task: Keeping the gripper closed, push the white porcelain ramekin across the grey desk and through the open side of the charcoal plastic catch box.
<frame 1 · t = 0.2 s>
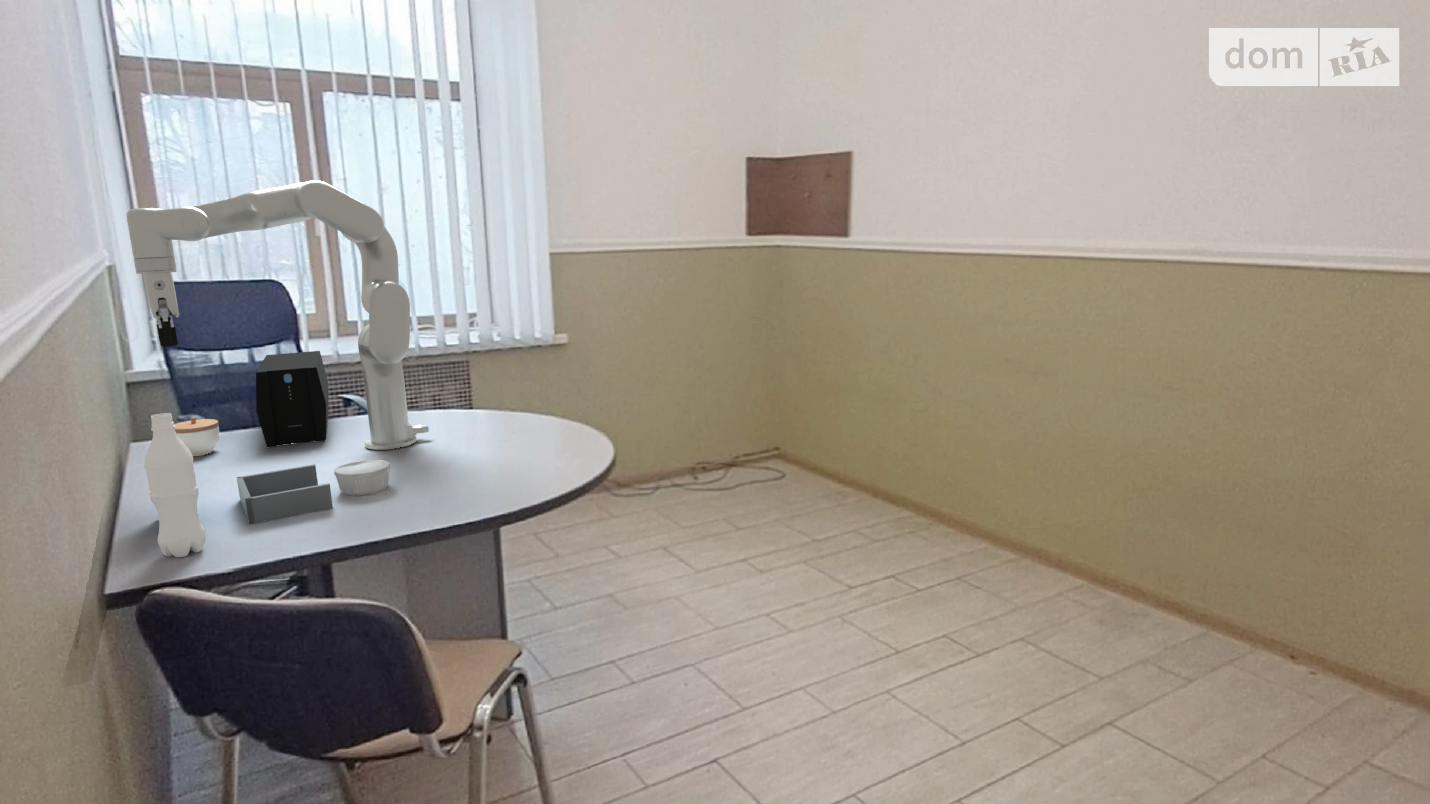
hand: (168, 343, 188), 31 cm above the table, tool pointing down, fingers open, 9 cm apart
lidded jar: (198, 454, 215), on the table
water bottle: (184, 553, 149), on the table
uninterruptible power supply: (300, 431, 237), on the table
catch box: (288, 503, 174), on the table
ramekin: (365, 490, 182), on the table
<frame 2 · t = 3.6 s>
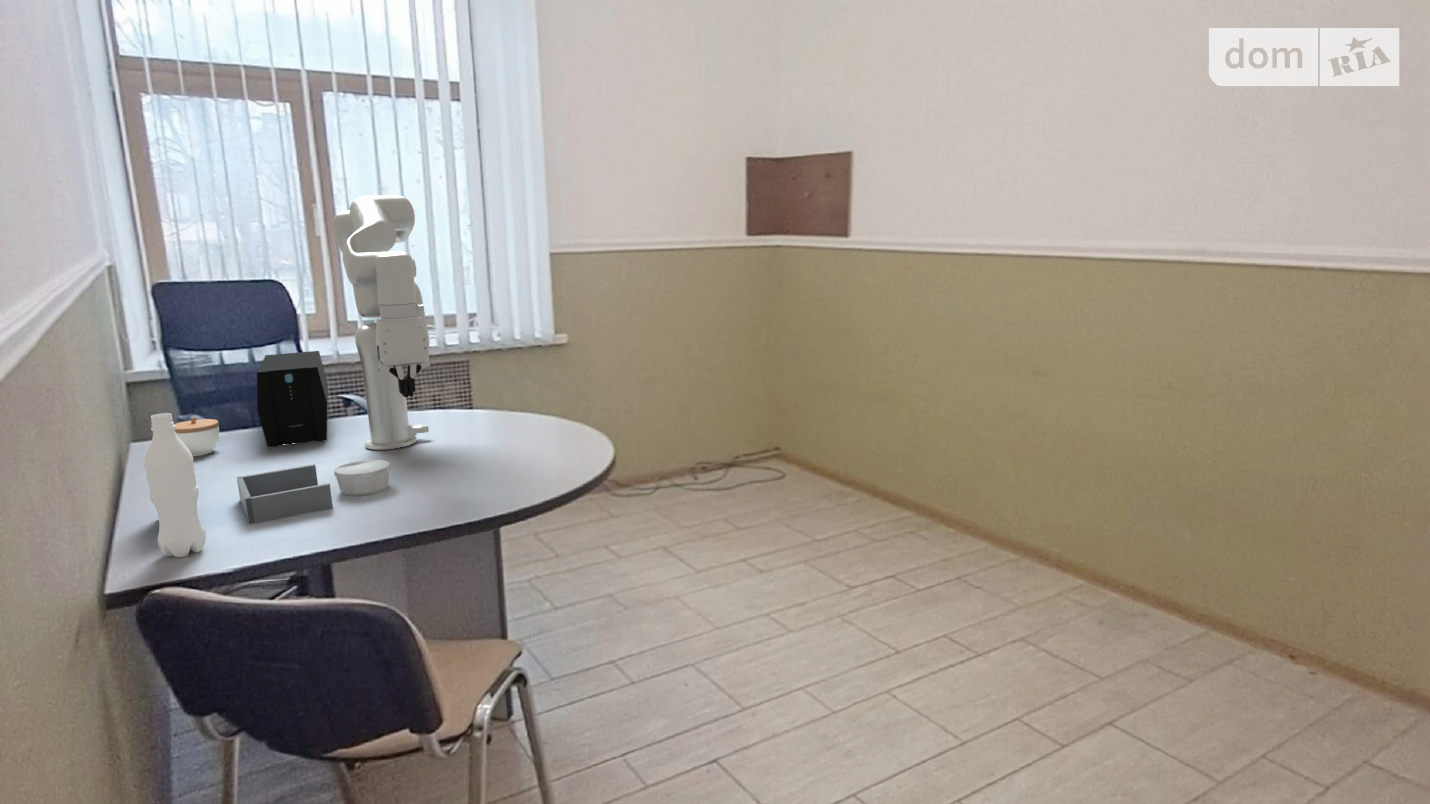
hand: (407, 395, 184), 19 cm above the table, tool pointing down, fingers closed
nothing on the table moved.
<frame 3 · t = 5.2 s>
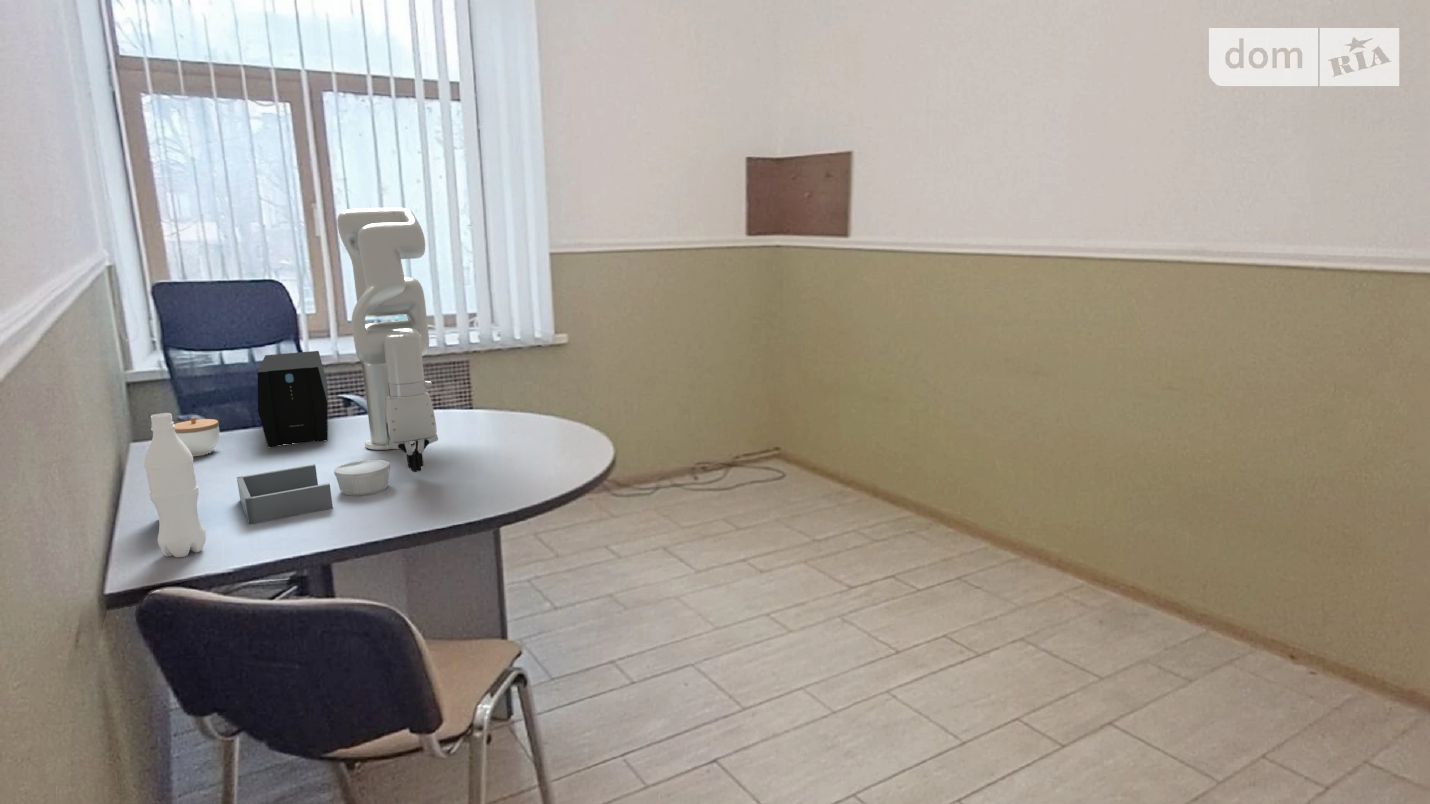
hand: (416, 470, 187), 2 cm above the table, tool pointing down, fingers closed
nothing on the table moved.
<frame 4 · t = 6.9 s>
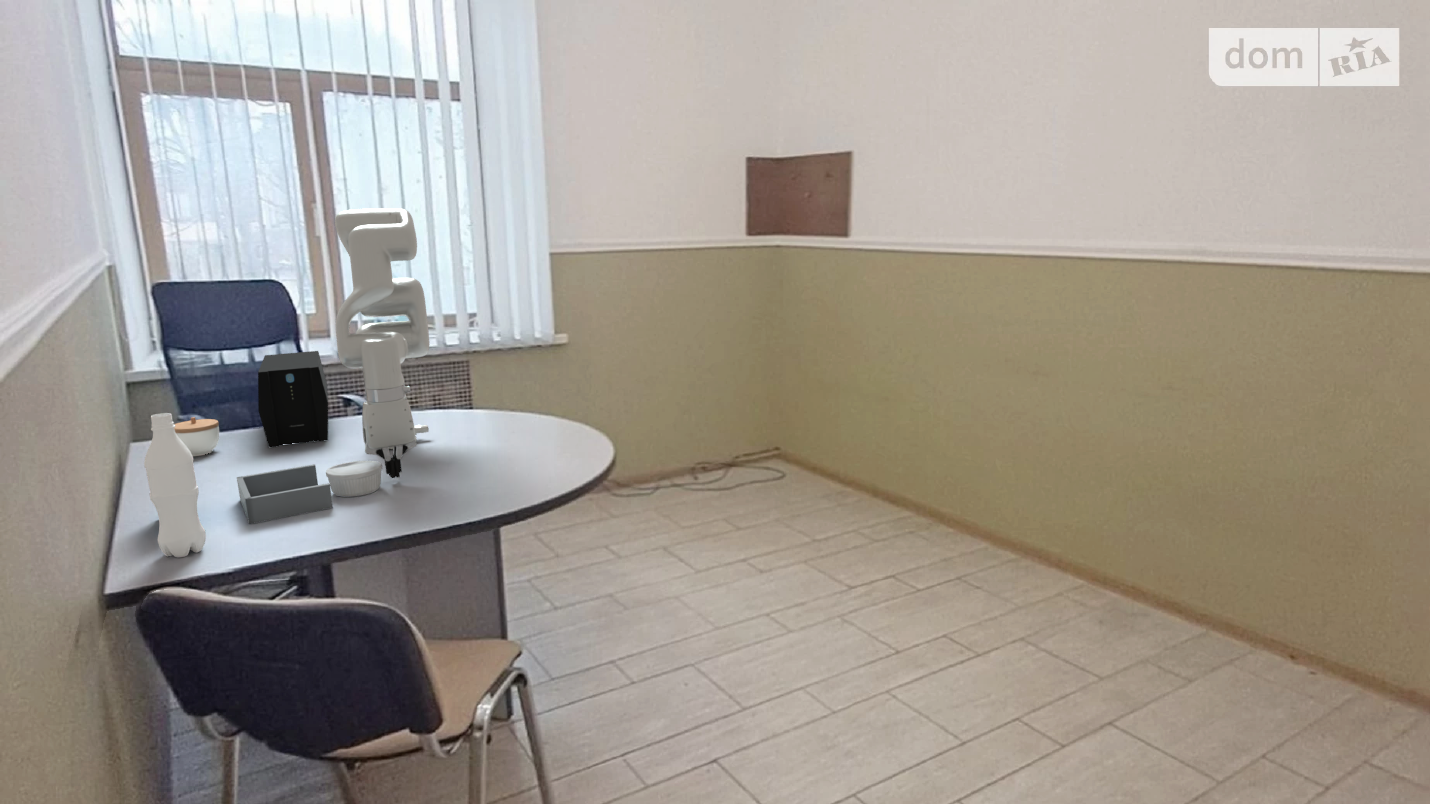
hand: (394, 476, 185), 2 cm above the table, tool pointing down, fingers closed
ramekin: (357, 491, 181), on the table, touching gripper
everything else where it was.
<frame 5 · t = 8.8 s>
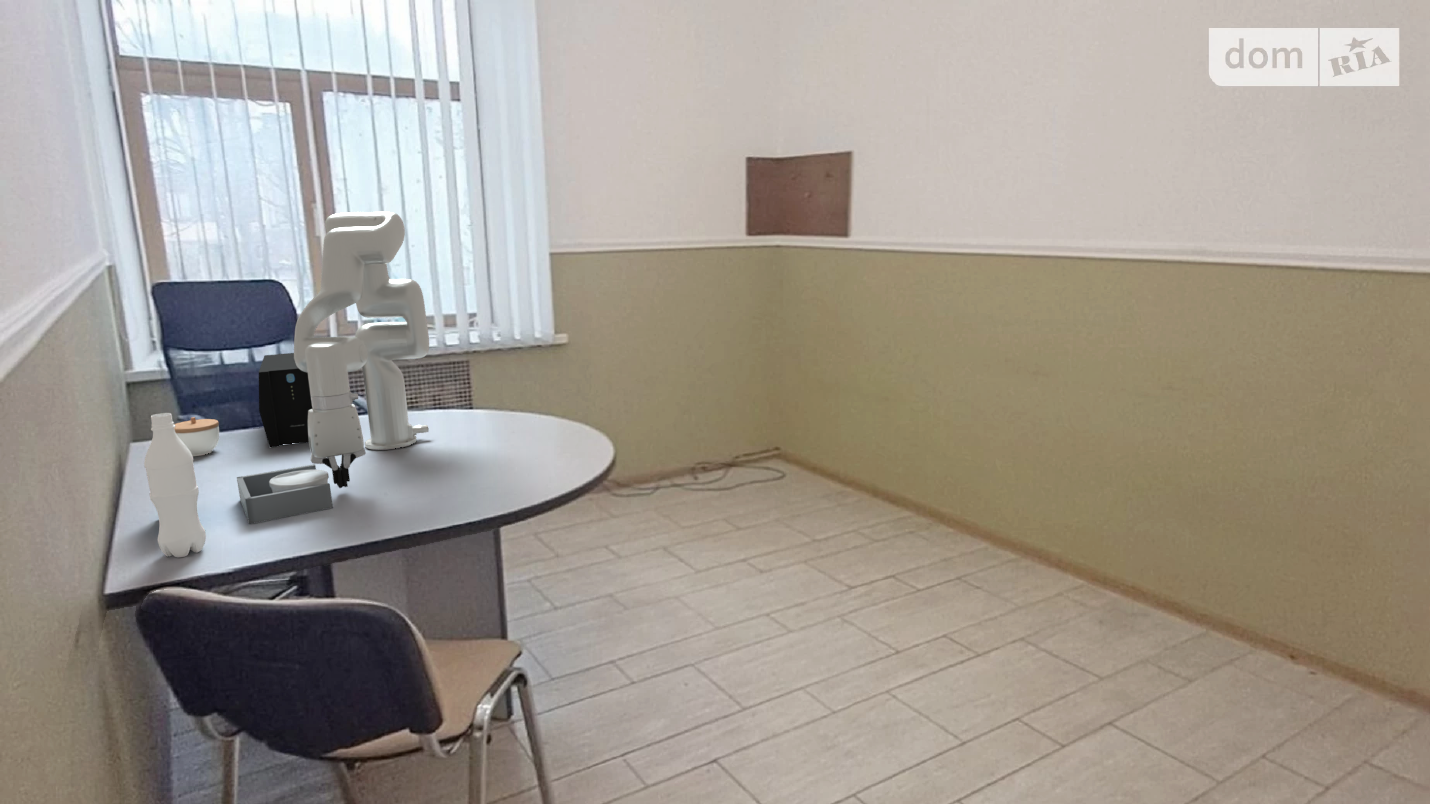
hand: (342, 485, 179), 2 cm above the table, tool pointing down, fingers closed
ramekin: (302, 501, 175), on the table, touching gripper
everything else where it was.
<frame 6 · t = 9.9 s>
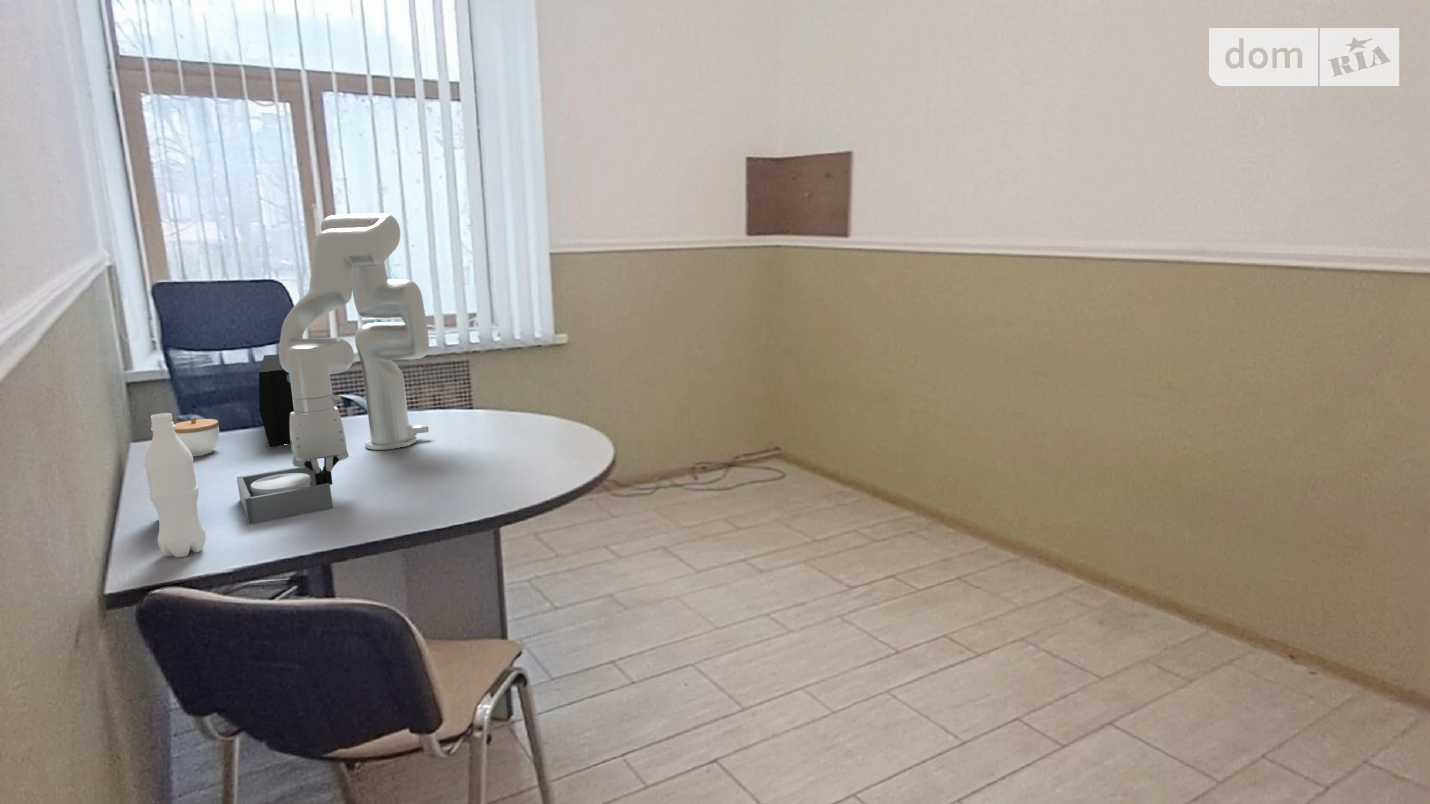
hand: (324, 488, 178), 2 cm above the table, tool pointing down, fingers closed
ramekin: (284, 505, 174), on the table
everything else where it was.
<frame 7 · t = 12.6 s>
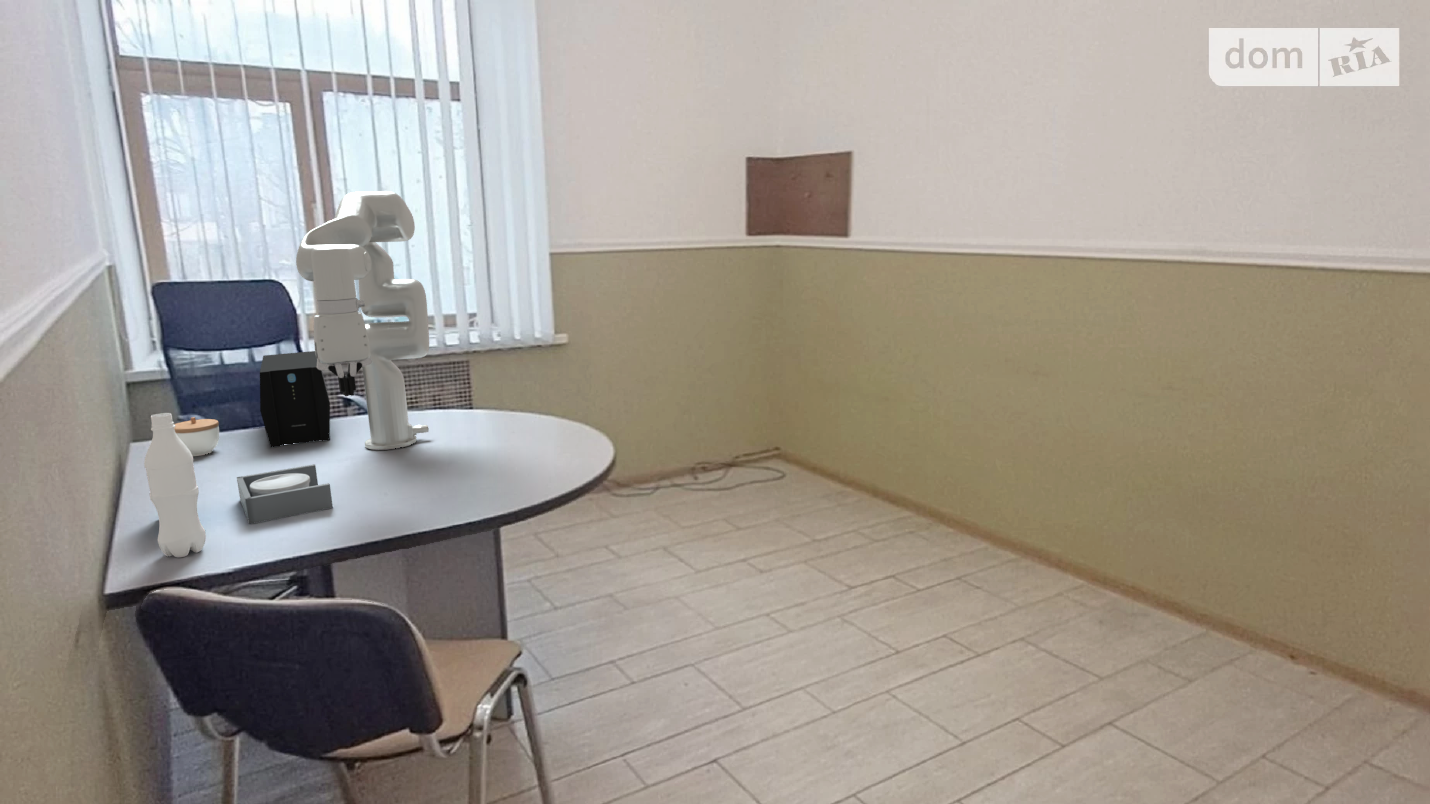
hand: (348, 394, 177), 21 cm above the table, tool pointing down, fingers closed
nothing on the table moved.
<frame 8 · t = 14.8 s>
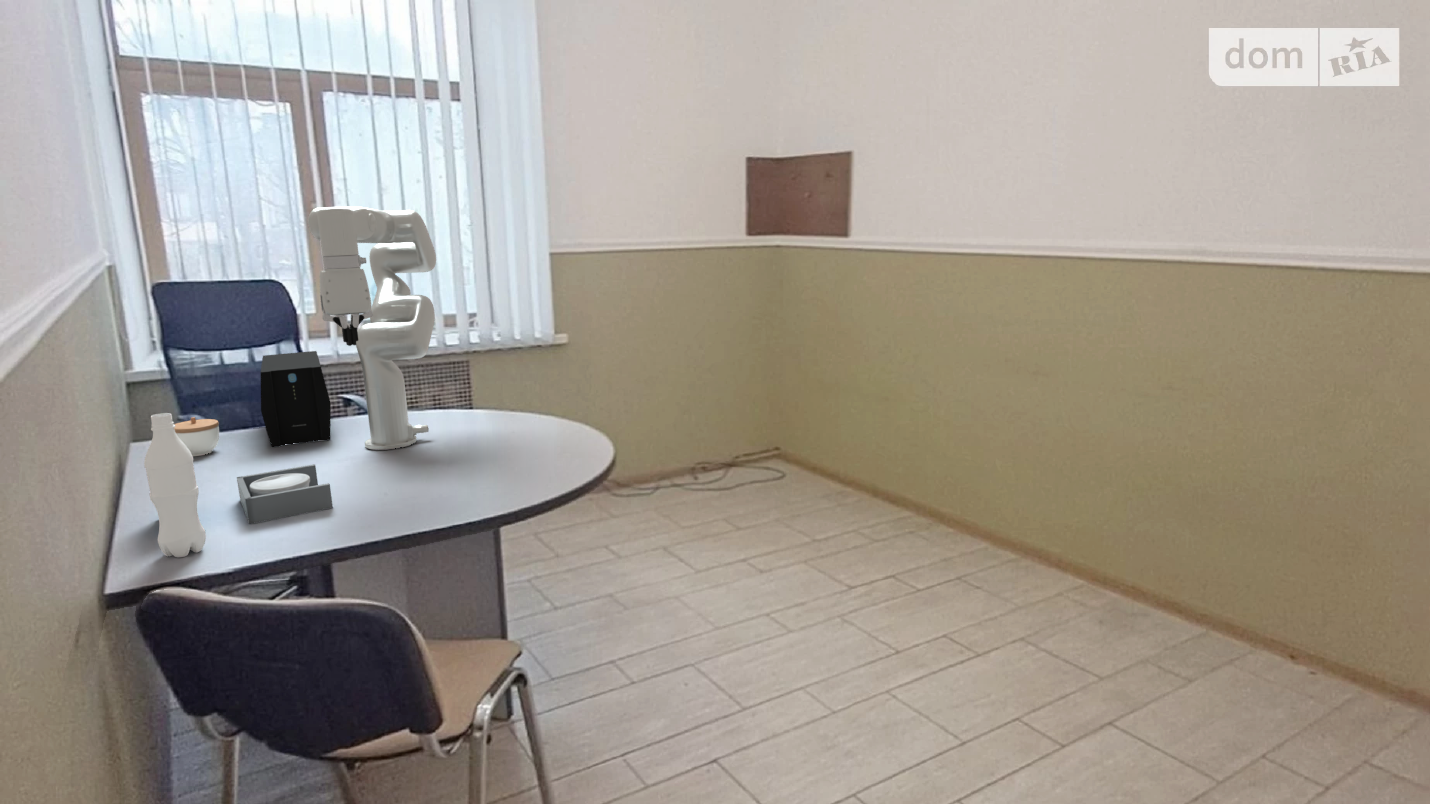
hand: (351, 344, 193), 29 cm above the table, tool pointing down, fingers closed
nothing on the table moved.
at the end: ramekin inside the target area on the catch box (0.6 cm from its centre), point 0.0 cm above the catch box's base; ramekin moved 15.9 cm from its start; ramekin tilted 0° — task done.
